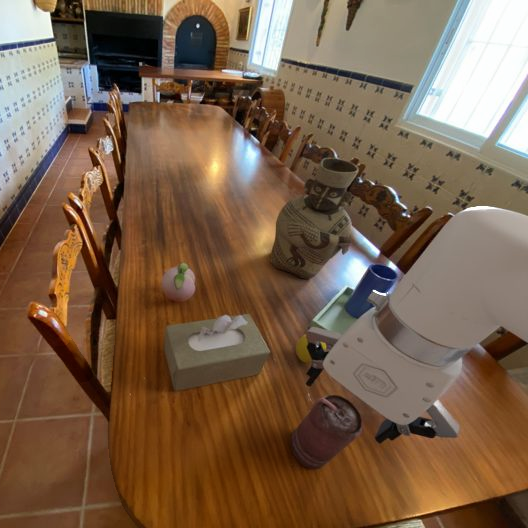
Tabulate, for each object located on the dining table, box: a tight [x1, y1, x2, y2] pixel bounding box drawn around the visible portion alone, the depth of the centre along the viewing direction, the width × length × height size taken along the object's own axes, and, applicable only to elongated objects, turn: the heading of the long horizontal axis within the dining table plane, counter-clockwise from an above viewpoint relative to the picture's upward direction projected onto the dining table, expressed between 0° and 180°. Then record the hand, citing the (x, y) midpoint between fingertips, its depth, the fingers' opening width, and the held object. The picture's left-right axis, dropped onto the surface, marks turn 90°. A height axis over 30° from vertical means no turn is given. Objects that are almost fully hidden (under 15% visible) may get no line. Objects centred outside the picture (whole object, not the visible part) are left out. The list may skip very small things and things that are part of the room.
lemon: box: [295, 333, 327, 365], centre depth 62 cm, size 6×6×8 cm
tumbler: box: [344, 262, 399, 319], centre depth 72 cm, size 6×6×14 cm
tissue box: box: [163, 313, 271, 392], centre depth 57 cm, size 19×10×16 cm, turn 104°
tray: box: [308, 283, 358, 334], centre depth 70 cm, size 22×20×3 cm
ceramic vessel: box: [270, 157, 359, 280], centre depth 81 cm, size 19×21×30 cm
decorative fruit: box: [161, 262, 196, 303], centre depth 73 cm, size 9×8×10 cm
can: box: [289, 394, 363, 470], centre depth 46 cm, size 6×6×14 cm
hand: (344, 404), depth 41 cm, fingers open, 9 cm apart
